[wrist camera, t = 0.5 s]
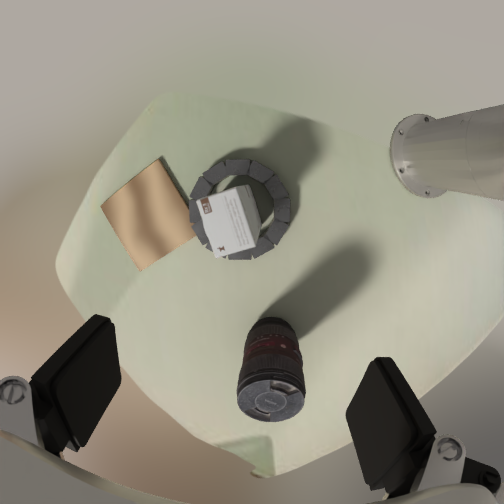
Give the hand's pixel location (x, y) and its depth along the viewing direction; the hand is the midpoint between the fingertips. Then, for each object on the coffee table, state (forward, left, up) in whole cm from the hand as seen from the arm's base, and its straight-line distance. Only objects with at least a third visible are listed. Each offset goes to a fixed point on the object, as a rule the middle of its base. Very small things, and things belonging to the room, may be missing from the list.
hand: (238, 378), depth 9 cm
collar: (+1, -3, -30) cm, 30 cm away
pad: (+13, -9, -30) cm, 34 cm away
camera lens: (+7, +16, -30) cm, 34 cm away
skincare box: (+1, -3, -30) cm, 30 cm away
